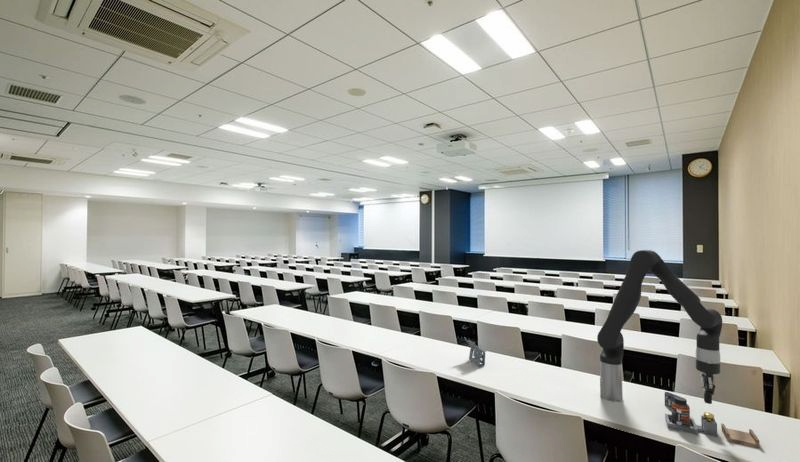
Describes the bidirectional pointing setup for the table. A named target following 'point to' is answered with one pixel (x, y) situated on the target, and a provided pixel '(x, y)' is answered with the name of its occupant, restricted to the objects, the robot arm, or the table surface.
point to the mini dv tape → (669, 399)
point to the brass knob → (708, 416)
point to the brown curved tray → (740, 436)
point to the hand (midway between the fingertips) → (707, 402)
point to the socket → (695, 426)
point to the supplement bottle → (680, 412)
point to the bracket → (476, 354)
